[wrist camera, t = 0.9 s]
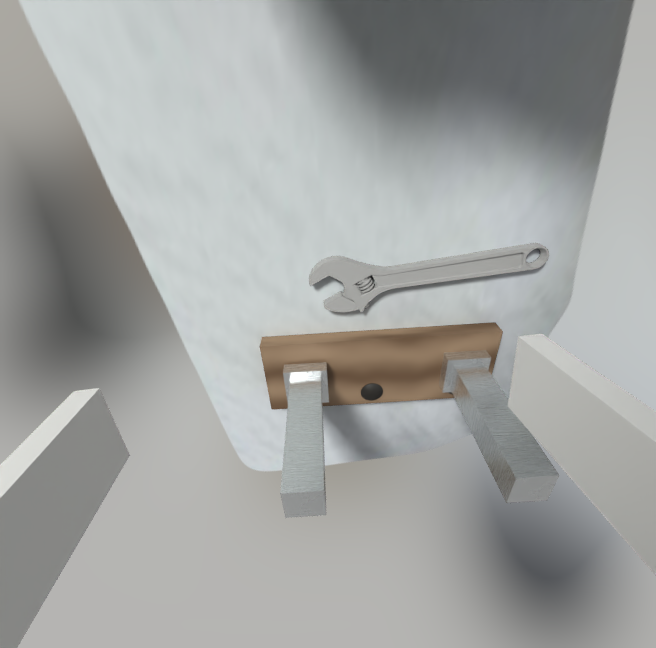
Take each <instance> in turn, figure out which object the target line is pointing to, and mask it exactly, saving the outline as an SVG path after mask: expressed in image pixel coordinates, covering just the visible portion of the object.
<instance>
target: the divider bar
mask: <svg viewBox="0 0 656 648" xmlns="http://www.w3.org/2000/svg"><path fill="white" fill-rule="evenodd" d="M502 333H503V331H502V330H501V329H500V328H499V326H498V325H497V324H496V323H480V324H464V325H448V326H432V327H416V328H400V329H384V330H368V331H352V332H336V333H321V334H305V335H289V336H273V337H262V340H261V344H260V350H261V356H262V361H263V366H264V371H265V377H266V382H267V387H268V392H269V398H270V403H271V408H272V409H286V408H288V402H287V396H286V389H285V383H284V376H283V369H284V365H289V364H305V363H321V362H326V364H327V379H328V394H329V402H326V403H323V406H333V405H349V404H365V403H380V402H396V401H412V400H427V399H443V398H454V396H453V394H452V392H445V393H443V392H442V390H441V388H440V386H439V380H440V374H441V368H442V361H443V355H444V353H446V352H462V351H478V350H486V351H487V352H488V354H489V355H490V357H491V361H490V365H489V369H488V370H489V372H490V373H491V375H492V372H493V368H494V364H495V360H496V356H497V352H498V349H499V345H500V341H501V337H502Z"/></svg>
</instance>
